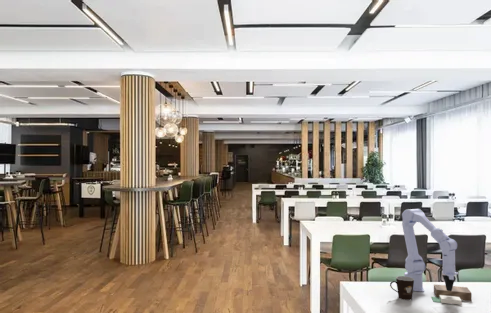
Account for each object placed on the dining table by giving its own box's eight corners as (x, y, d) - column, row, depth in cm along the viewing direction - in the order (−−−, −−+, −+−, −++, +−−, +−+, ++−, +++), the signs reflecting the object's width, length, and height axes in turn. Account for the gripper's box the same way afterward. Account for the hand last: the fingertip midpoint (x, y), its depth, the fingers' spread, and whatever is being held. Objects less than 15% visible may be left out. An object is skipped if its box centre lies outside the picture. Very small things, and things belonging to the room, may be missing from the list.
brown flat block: (436, 297, 200) (436, 289, 200) (433, 291, 210) (433, 284, 210) (471, 301, 195) (471, 292, 195) (467, 295, 205) (467, 287, 205)
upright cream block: (439, 294, 197) (439, 298, 197) (441, 298, 192) (441, 302, 192) (459, 296, 194) (459, 300, 194) (461, 300, 189) (461, 304, 189)
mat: (433, 301, 194) (433, 301, 194) (431, 297, 201) (431, 296, 201) (458, 304, 190) (458, 303, 190) (455, 299, 197) (455, 298, 197)
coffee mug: (413, 296, 202) (413, 277, 202) (415, 301, 194) (414, 281, 194) (389, 294, 206) (389, 275, 206) (390, 299, 197) (390, 279, 198)
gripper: (460, 267, 189) (460, 295, 188) (454, 260, 202) (455, 287, 202) (444, 266, 191) (444, 294, 190) (439, 259, 205) (440, 285, 204)
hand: (449, 290), depth 196 cm, fingers closed
